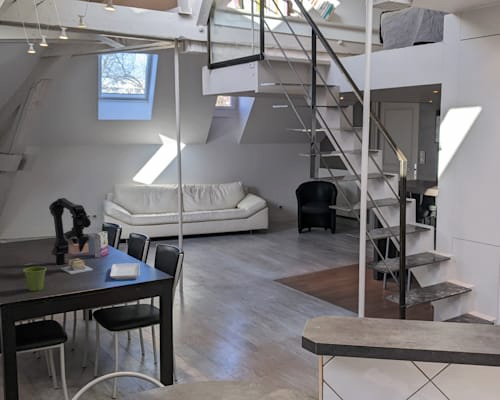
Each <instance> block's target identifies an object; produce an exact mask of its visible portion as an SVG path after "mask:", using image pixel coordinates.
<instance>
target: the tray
mask: <svg viewBox="0 0 500 400" xmlns="http://www.w3.org/2000/svg"><path fill="white" fill-rule="evenodd" d="M140 264H141V263H139V262H136V263H135V262H132V263H131V262H129V263H126V262H125V263H113V264H112V266H111V268H110V269H111V270H110V274H109V277H111V278H112V279H114V280H116V281H119V280H135V279H136V278H138V277H140V276H141V265H140Z"/></svg>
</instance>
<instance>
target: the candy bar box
mask: <svg viewBox="0 0 500 400" xmlns="http://www.w3.org/2000/svg"><path fill="white" fill-rule="evenodd" d="M93 242H94V243H93V244H94V257H95V258H96V259H102V258H104V257H106V256H108V255H109V237H108V231H99V232H97V233H94V234H93Z"/></svg>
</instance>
